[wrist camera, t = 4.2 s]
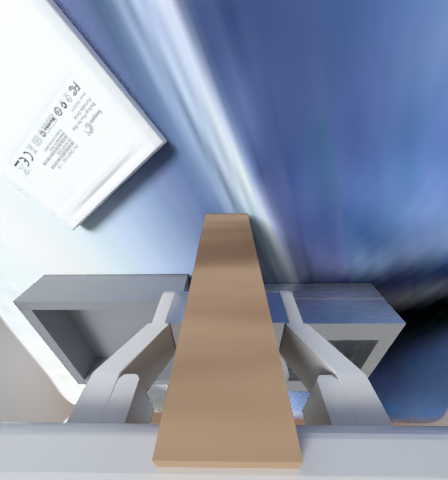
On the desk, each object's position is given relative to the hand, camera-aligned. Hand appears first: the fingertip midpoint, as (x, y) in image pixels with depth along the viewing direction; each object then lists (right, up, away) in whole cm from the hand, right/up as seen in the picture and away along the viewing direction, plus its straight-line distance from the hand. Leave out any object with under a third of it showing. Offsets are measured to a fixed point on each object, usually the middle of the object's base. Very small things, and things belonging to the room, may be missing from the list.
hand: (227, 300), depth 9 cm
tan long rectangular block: (0, +2, +4) cm, 5 cm away
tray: (-8, -5, +9) cm, 13 cm away
